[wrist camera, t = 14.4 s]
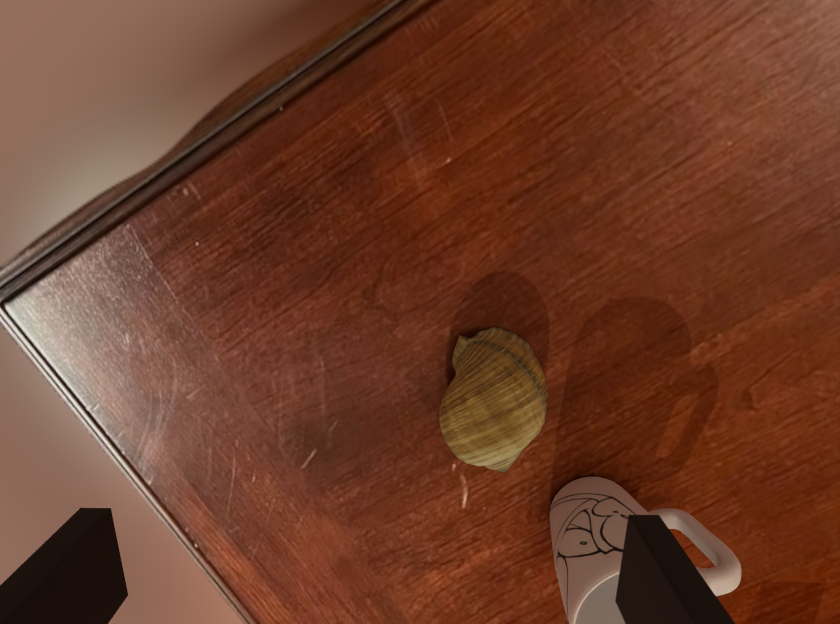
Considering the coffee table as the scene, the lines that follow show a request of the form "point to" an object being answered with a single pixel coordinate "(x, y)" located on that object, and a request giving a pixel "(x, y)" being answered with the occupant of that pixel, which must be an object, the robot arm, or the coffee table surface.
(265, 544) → the coffee table surface
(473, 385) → the seashell
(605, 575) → the mug
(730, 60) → the coffee table surface
